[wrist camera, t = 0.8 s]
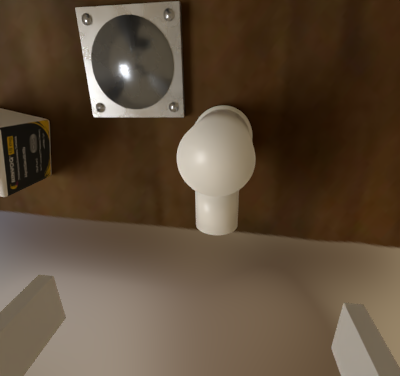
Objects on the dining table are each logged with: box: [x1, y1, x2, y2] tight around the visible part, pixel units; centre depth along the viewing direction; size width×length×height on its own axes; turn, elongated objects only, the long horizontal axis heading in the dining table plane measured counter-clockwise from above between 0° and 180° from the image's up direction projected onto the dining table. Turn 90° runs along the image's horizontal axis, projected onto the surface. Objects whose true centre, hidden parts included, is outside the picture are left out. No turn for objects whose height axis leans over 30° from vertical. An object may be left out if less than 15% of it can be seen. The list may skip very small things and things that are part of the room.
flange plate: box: [75, 1, 185, 117], centre depth 25 cm, size 10×10×1 cm
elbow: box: [177, 105, 255, 235], centre depth 23 cm, size 9×6×10 cm, turn 1°
